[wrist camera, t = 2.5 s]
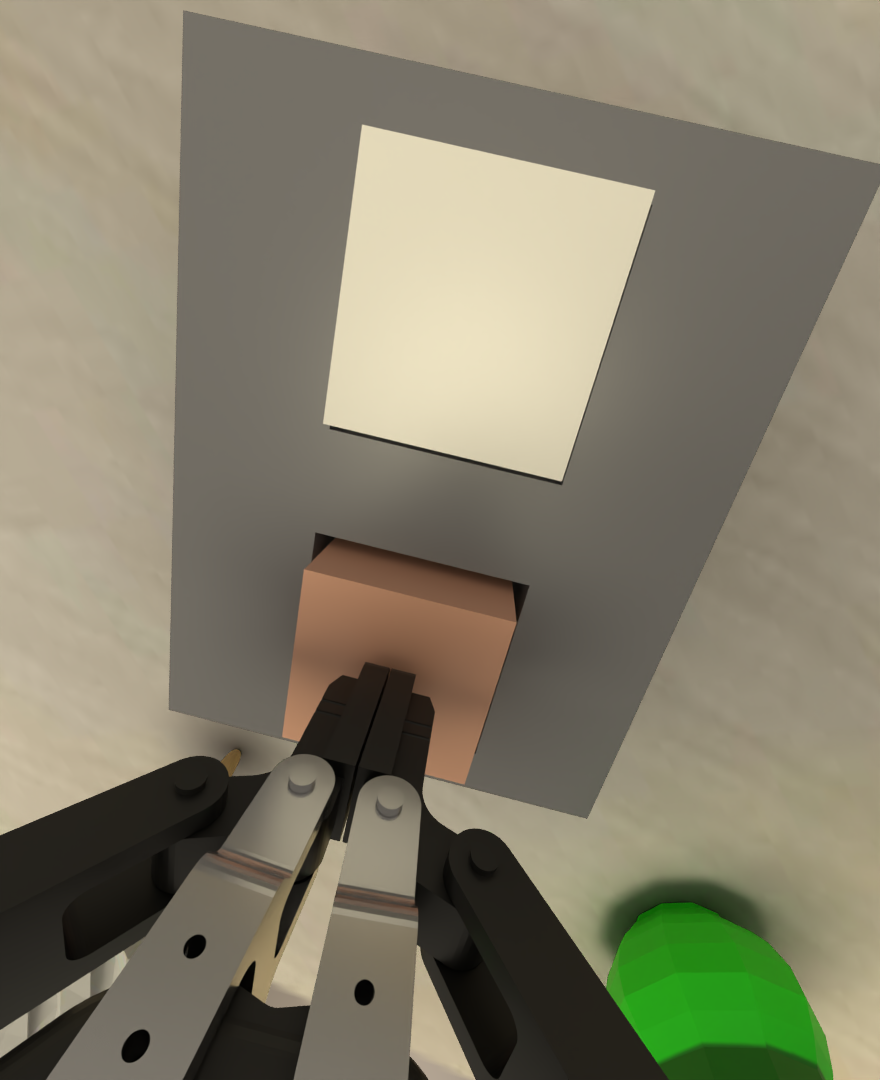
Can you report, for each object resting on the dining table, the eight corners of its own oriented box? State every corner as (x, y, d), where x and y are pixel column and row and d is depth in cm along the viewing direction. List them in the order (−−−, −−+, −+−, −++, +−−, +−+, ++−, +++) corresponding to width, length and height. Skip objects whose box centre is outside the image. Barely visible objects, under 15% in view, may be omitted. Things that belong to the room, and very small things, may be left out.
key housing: (743, 244, 16) (888, 166, 10) (562, 708, 22) (587, 818, 17) (292, 142, 16) (183, 10, 10) (248, 628, 23) (168, 709, 17)
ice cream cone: (187, 774, 26) (-159, 1221, 12) (192, 697, 25) (-211, 1121, 10) (280, 799, 26) (37, 1280, 12) (292, 724, 24) (21, 1190, 10)
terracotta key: (511, 578, 15) (516, 622, 12) (468, 718, 17) (464, 784, 14) (338, 535, 15) (304, 569, 13) (315, 679, 17) (281, 736, 15)
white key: (616, 236, 12) (655, 190, 9) (547, 461, 14) (561, 481, 11) (392, 185, 12) (362, 124, 9) (356, 415, 14) (323, 423, 11)
